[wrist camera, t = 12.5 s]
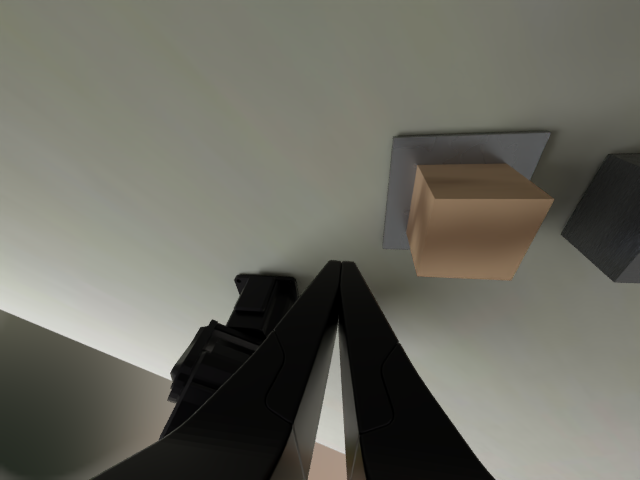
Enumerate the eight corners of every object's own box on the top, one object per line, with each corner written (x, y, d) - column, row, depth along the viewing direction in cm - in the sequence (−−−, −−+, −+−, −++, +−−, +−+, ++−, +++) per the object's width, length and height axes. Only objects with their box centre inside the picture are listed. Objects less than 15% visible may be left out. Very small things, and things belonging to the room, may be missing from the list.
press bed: (496, 248, 20) (498, 251, 20) (382, 245, 22) (382, 248, 21) (547, 130, 15) (551, 132, 15) (393, 136, 16) (393, 138, 16)
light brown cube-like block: (480, 234, 19) (511, 280, 15) (406, 232, 20) (417, 276, 16) (506, 163, 16) (554, 199, 12) (417, 165, 17) (434, 198, 13)
